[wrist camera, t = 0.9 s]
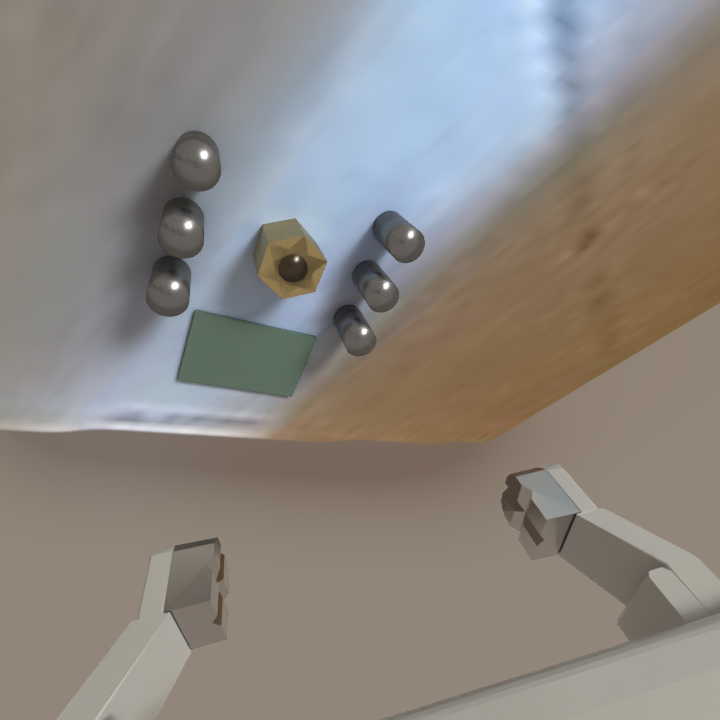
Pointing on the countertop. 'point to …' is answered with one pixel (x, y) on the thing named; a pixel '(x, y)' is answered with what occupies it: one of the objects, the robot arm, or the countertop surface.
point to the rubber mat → (244, 355)
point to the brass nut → (288, 259)
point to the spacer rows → (186, 238)
